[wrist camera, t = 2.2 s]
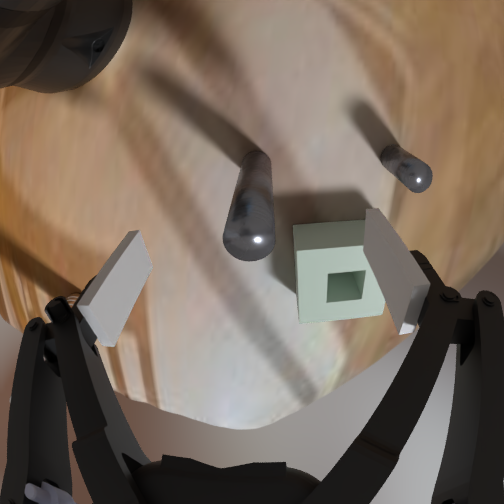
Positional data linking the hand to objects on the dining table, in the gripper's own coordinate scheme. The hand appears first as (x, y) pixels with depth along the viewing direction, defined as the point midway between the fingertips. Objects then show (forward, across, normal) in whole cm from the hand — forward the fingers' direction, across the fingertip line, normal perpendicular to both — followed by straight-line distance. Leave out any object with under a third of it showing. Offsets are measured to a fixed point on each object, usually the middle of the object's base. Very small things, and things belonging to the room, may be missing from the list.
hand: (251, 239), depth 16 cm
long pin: (+13, 0, 0) cm, 13 cm away
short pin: (+13, +14, 0) cm, 19 cm away
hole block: (+14, +8, -12) cm, 19 cm away
